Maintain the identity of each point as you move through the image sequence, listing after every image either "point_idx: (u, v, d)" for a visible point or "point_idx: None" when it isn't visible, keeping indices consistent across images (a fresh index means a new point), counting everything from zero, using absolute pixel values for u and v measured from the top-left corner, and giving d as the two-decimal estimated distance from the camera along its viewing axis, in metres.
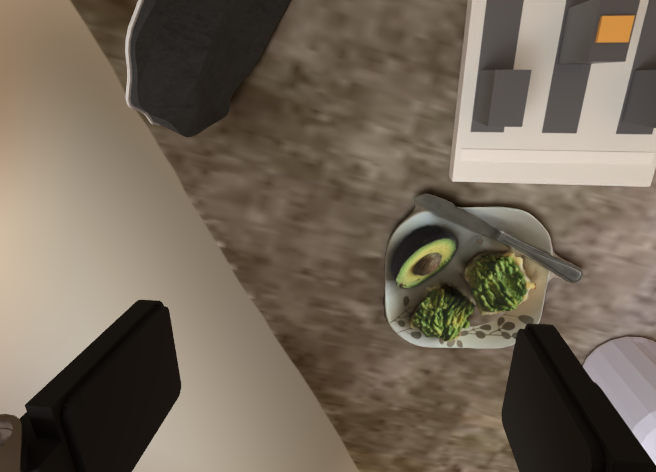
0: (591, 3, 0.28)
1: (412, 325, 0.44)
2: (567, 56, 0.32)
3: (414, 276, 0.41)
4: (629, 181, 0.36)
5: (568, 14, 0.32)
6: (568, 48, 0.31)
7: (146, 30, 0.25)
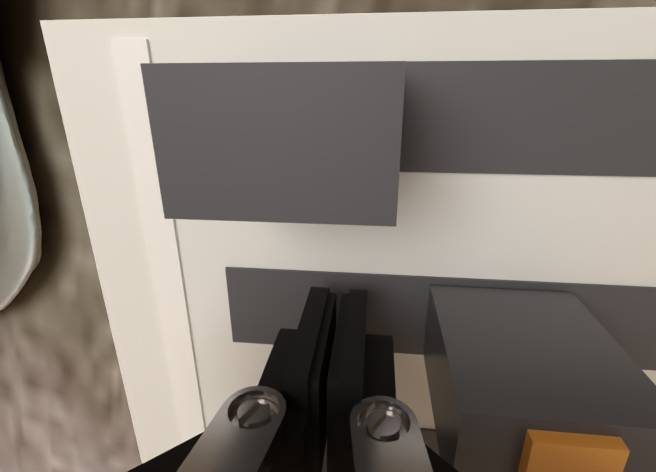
0: (643, 388, 0.08)
1: None
2: (456, 315, 0.11)
3: None
4: (147, 444, 0.16)
5: (558, 295, 0.12)
6: (477, 314, 0.11)
7: None
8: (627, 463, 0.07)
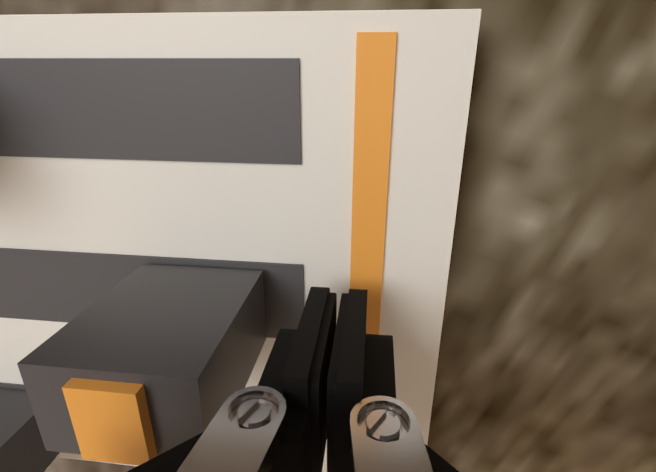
0: (204, 346, 0.09)
1: None
2: (128, 288, 0.12)
3: None
4: None
5: (245, 273, 0.13)
6: (149, 287, 0.12)
7: None
8: (157, 408, 0.09)
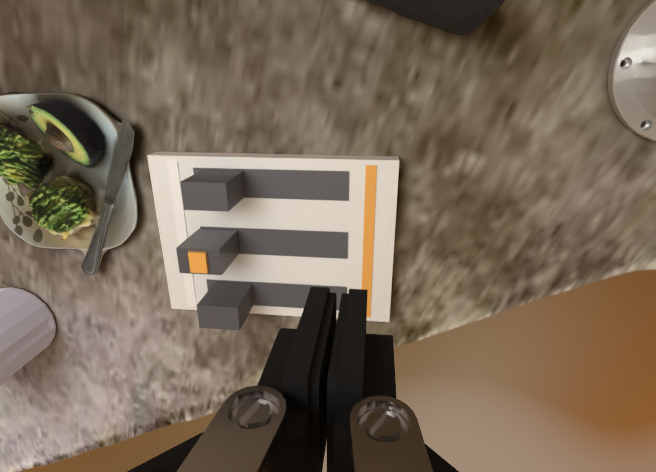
0: (220, 245, 0.37)
1: None
2: (196, 234, 0.40)
3: (44, 125, 0.39)
4: (173, 294, 0.45)
5: (231, 230, 0.41)
6: (202, 234, 0.40)
7: None
8: (209, 258, 0.37)
